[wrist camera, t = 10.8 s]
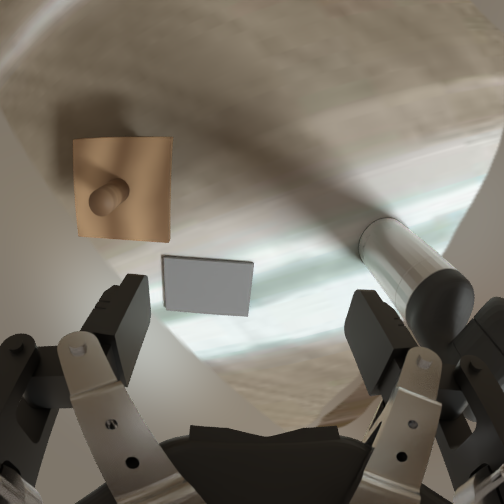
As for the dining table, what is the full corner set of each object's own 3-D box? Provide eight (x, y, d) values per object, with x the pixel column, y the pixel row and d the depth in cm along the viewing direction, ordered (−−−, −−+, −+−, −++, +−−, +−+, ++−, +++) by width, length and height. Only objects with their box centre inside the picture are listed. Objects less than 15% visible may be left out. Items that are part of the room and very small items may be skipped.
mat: (253, 262, 48) (253, 264, 47) (247, 314, 52) (247, 316, 52) (164, 256, 47) (163, 257, 46) (166, 308, 51) (166, 310, 51)
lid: (172, 136, 31) (158, 141, 25) (170, 239, 36) (158, 262, 30) (76, 138, 30) (49, 145, 24) (82, 233, 35) (59, 253, 29)
